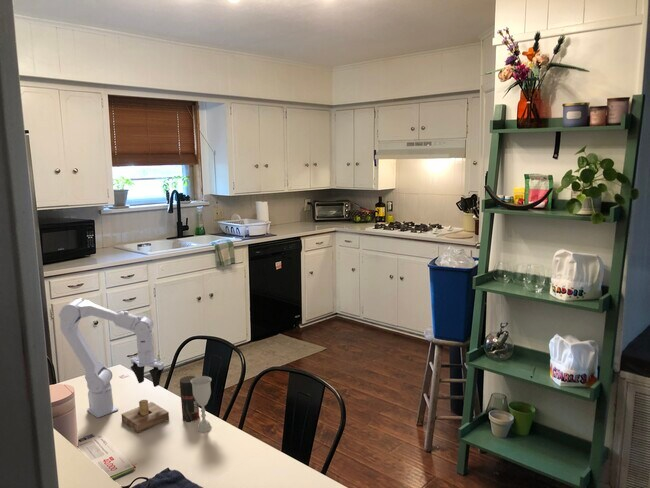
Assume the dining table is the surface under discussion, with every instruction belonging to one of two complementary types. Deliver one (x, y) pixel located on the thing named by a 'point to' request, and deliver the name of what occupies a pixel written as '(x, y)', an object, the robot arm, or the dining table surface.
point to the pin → (143, 407)
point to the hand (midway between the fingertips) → (148, 383)
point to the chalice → (202, 398)
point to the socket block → (145, 417)
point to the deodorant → (188, 400)
